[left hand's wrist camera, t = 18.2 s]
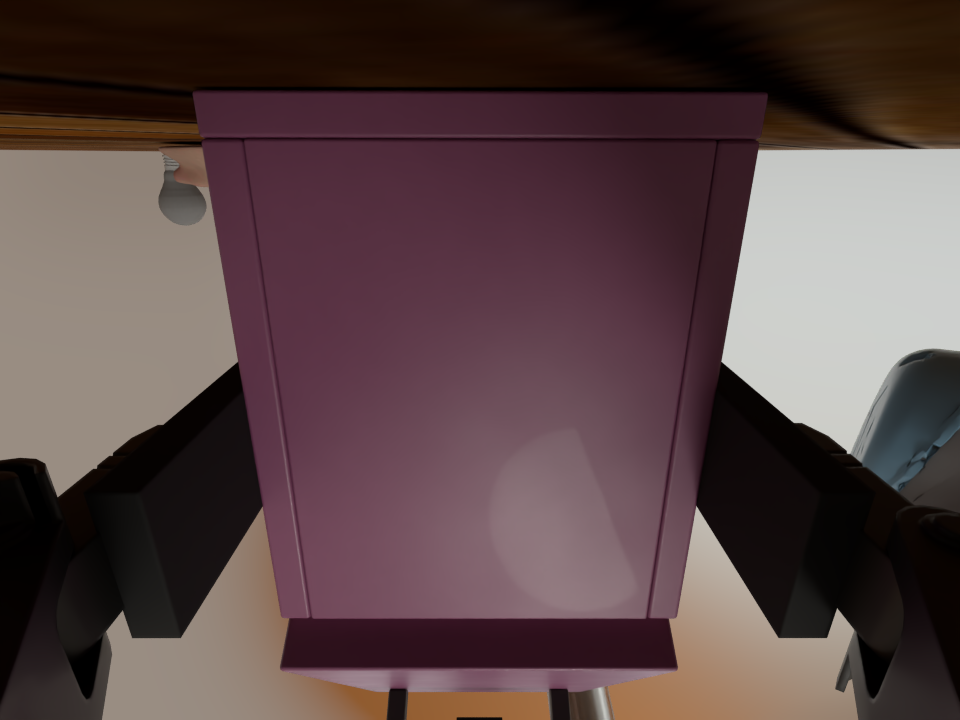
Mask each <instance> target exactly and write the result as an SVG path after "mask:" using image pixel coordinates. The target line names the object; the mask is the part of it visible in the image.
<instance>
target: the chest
mask: <svg viewBox="0 0 960 720" xmlns="http://www.w3.org/2000/svg"><path fill="white" fill-rule="evenodd" d="M193 99H194V105H195V111H196V116H197V122H198V128H199V133H200V135H201V137H204V138H205V139H203V140H202V150H203V156H204V161H205V167H206V173H207V179H208V185H209V191H210V197H211V203H212V209H213V215H214V221H215V227H216V232H217V238H218V244H219V250H220V256H221V262H222V268H223V274H224V280H225V286H226V292H227V298H228V304H229V310H230V316H231V321H232V327H233V333H234V339H235V345H236V351H237V357H238V363H239V369H240V375H241V381H242V387H243V393H244V399H245V404H246V410H247V416H248V422H249V428H250V434H251V440H252V446H253V452H254V458H255V464H256V470H257V475H258V481H259V487H260V493H261V499H262V505H263V511H264V517H265V523H266V529H267V535H268V541H269V547H270V553H271V559H272V564H273V570H274V576H275V582H276V588H277V594H278V600H279V606H280V612H281V616H282V617H283V618H309V617H310V616H312V618H314V619H645V618H646V617H647V616H648V618H676V617H677V613H678V607H679V601H680V596H681V590H682V584H683V578H684V573H685V567H686V561H687V556H688V550H689V544H690V538H691V533H692V527H693V521H694V515H695V510H696V504H697V498H698V492H699V487H700V481H701V475H702V469H703V464H704V458H705V452H706V446H707V441H708V435H709V429H710V423H711V417H712V412H713V406H714V400H715V394H716V389H717V383H718V378H719V372H720V366H721V360H722V355H723V349H724V343H725V337H726V332H727V326H728V320H729V314H730V309H731V303H732V297H733V292H734V286H735V280H736V274H737V269H738V263H739V257H740V251H741V246H742V240H743V234H744V228H745V223H746V217H747V211H748V206H749V200H750V194H751V188H752V183H753V177H754V171H755V165H756V159H757V154H758V148H759V142H758V141H756V139H758V138H760V136H761V133H762V127H763V122H764V116H765V110H766V104H767V99H768V93H766V92H764V91H474V90H195V91H193Z"/></svg>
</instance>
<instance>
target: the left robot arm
mask: <svg viewBox="0 0 960 720" xmlns="http://www.w3.org/2000/svg"><path fill="white" fill-rule="evenodd" d="M262 506H263V505H262V499H261V493H260V487H259V481H258V475H257V470H256V464H255V458H254V452H253V446H252V440H251V434H250V428H249V422H248V416H247V410H246V404H245V399H244V393H243V387H242V381H241V375H240V369H239V363H238V362H237V363H236V364H235V365H234V366H232V367H231V368H230V369H229V370H228V371H227V372H225V373H224V374H223V375H222V376H221V377H219V378H218V379H217V380H216V381H215V382H213V383H212V384H211V385H210V386H209V387H208V388H206V389H205V390H204V391H203V392H202V393H200V394H199V395H198V396H197V397H196V398H195V399H193V400H192V401H191V402H190V403H189V404H187V405H186V406H185V407H184V408H183V409H182V410H180V411H179V412H178V413H177V414H176V415H174V416H173V417H172V418H171V419H170V420H168V421H167V422H166V423H165V424H164V425H157V426H155V427H153V428H151V429H149V430H147V431H145V432H143V433H141V434H139V435H137V436H135V437H133V438H131V439H130V440H129V441H127V442H126V443H125V444H124V445H122V446H121V447H120V448H119V449H117V450H116V451H115V452H114V453H113V456H109V457H107V458H106V459H105V460H104V461H102V462H101V463H100V464H99V465H98V466H97V469H93V470H91V471H90V472H89V473H88V474H86V475H85V476H84V477H83V478H81V479H80V480H79V481H78V482H76V483H75V484H74V485H73V486H71V487H70V488H69V489H68V490H66V491H65V492H64V493H63V494H61V495H60V496H59V497H57V495H56V492H55V489H54V486H53V484H52V481H51V478H50V475H49V473H48V470H47V467H46V464H45V463H43V462H41V461H39V460H37V459H29V458H16V459H8V460H0V720H102V715H103V709H104V702H105V696H106V689H107V683H108V676H109V670H110V663H111V657H112V652H111V645H110V641H109V639H108V636H107V633H106V631H107V629H108V628H109V627H110V626H111V624H112V623H113V622H114V620H115V619H116V618H117V617H118V615H119V614H120V613H121V612H122V610H123V612H124V615H125V618H126V621H127V624H128V627H129V630H130V633H131V636H132V638H181V637H182V635H183V633H184V632H185V630H186V629H187V627H188V625H189V624H190V622H191V620H192V619H193V617H194V616H195V614H196V613H197V611H198V609H199V608H200V606H201V605H202V603H203V601H204V600H205V598H206V596H207V595H208V593H209V592H210V590H211V588H212V587H213V585H214V584H215V582H216V580H217V579H218V577H219V576H220V574H221V572H222V571H223V569H224V567H225V566H226V564H227V563H228V561H229V559H230V558H231V556H232V555H233V553H234V551H235V550H236V548H237V547H238V545H239V543H240V542H241V540H242V539H243V537H244V535H245V534H246V532H247V531H248V529H249V527H250V526H251V524H252V523H253V521H254V519H255V518H256V516H257V514H258V513H259V511H260V510H261V508H262ZM696 506H697V507H698V509H699V511H700V512H701V514H702V515H703V517H704V519H705V520H706V522H707V524H708V525H709V527H710V528H711V530H712V531H713V533H714V535H715V536H716V538H717V539H718V541H719V543H720V544H721V546H722V548H723V549H724V551H725V552H726V554H727V556H728V557H729V559H730V560H731V562H732V564H733V565H734V567H735V569H736V570H737V572H738V573H739V575H740V577H741V578H742V580H743V581H744V583H745V585H746V586H747V588H748V589H749V591H750V593H751V594H752V596H753V597H754V599H755V601H756V602H757V604H758V606H759V607H760V609H761V610H762V612H763V614H764V615H765V617H766V618H767V620H768V622H769V623H770V625H771V626H772V628H773V630H774V631H775V633H776V634H777V636H778V638H827V636H828V633H829V630H830V628H831V625H832V621H833V619H834V616H835V613H836V610H837V608H838V610H839V611H840V612H841V613H842V615H843V616H844V617H845V618H846V620H847V621H848V622H849V623H850V625H851V626H852V627H853V628H854V633H853V636H852V639H851V641H850V644H849V647H848V650H847V652H846V655H845V658H844V661H843V664H842V666H841V669H840V672H839V675H838V677H837V682H836V690H839V691H842V692H844V691H845V688H846V685H847V683H848V681H849V680H851V679H852V681H853V687H854V694H855V700H856V707H857V713H858V720H960V351H952V350H943V349H924V350H919V351H916V352H913V353H911V354H908V355H907V356H905V357H903V358H902V359H900V360H899V361H898V362H897V363H896V364H895V365H894V366H893V368H892V369H891V370H890V372H889V374H888V375H887V377H886V379H885V380H884V382H883V384H882V386H881V388H880V390H879V392H878V394H877V396H876V398H875V400H874V402H873V404H872V406H871V408H870V410H869V412H868V415H867V417H866V419H865V421H864V423H863V426H862V428H861V430H860V433H859V435H858V437H857V440H856V442H855V444H854V447H853V449H852V451H851V454H847V451H846V450H845V449H844V448H842V447H841V446H840V445H839V444H837V443H836V442H835V441H834V440H832V439H831V438H830V437H829V436H827V435H825V434H823V433H821V432H819V431H817V430H815V429H813V428H811V427H809V426H807V425H805V424H803V423H793V422H792V421H791V420H790V419H788V418H787V417H786V416H785V415H784V414H783V413H781V412H780V411H779V410H778V409H777V408H775V407H774V406H773V405H772V404H771V403H769V402H768V401H767V400H766V399H765V398H764V397H762V396H761V395H760V394H759V393H758V392H756V391H755V390H754V389H753V388H752V387H751V386H749V385H748V384H747V383H746V382H745V381H743V380H742V379H741V378H740V377H739V376H737V375H736V374H735V373H734V372H733V371H732V370H730V369H729V368H728V367H727V366H726V365H724V364H723V363H722V362H721V366H720V372H719V378H718V383H717V389H716V394H715V400H714V406H713V412H712V417H711V423H710V429H709V435H708V441H707V446H706V452H705V458H704V464H703V469H702V475H701V481H700V487H699V492H698V498H697V504H696Z"/></svg>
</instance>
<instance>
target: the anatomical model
mask: <svg viewBox="0 0 960 720" xmlns="http://www.w3.org/2000/svg"><path fill="white" fill-rule="evenodd" d="M158 149H159V151H160V152H162V153H163V154H164V155H166V156H168V157H170V158H171V159H173V160H175V161H176V162H178V163H179V167H178V168H177V169H176V170H175V171H174V173H173V175H174V179H175V180H176V181H177V182H180V183H185V184H191V185H195V186H200V187H209V185H208V179H207V173H206V167H205V161H204V156H203V150H202V146H165V147H159V148H158Z"/></svg>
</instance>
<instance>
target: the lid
mask: <svg viewBox="0 0 960 720" xmlns="http://www.w3.org/2000/svg"><path fill="white" fill-rule="evenodd" d="M280 669H281V670H282V671H285V672H289V673H294V674H298V675H303V676H308V677H312V678H317V679H321V680H326V681H330V682H335V683H339V684H344V685H349V686H353V687H358V688H362V689H367V690H371V691H376V692H389V698H388V709H387V720H406V717H407V702H408V692H549V700H550V715H551V720H571V718H570V706H569V693H568V692H582V691H586V690H591V689H596V688H600V687H605V686H610V685H614V684H619V683H623V682H628V681H633V680H637V679H642V678H646V677H651V676H656V675H660V674H664V673H669V672H674V671H676V670H677V669H678V666H677V660H676V655H675V649H674V644H673V639H672V633H671V628H670V623H669V618H648V616H647V617H646V618H645V619H314V618H312V616H310V617H309V618H289V623H288V628H287V633H286V638H285V644H284V649H283V654H282V659H281V665H280Z"/></svg>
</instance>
